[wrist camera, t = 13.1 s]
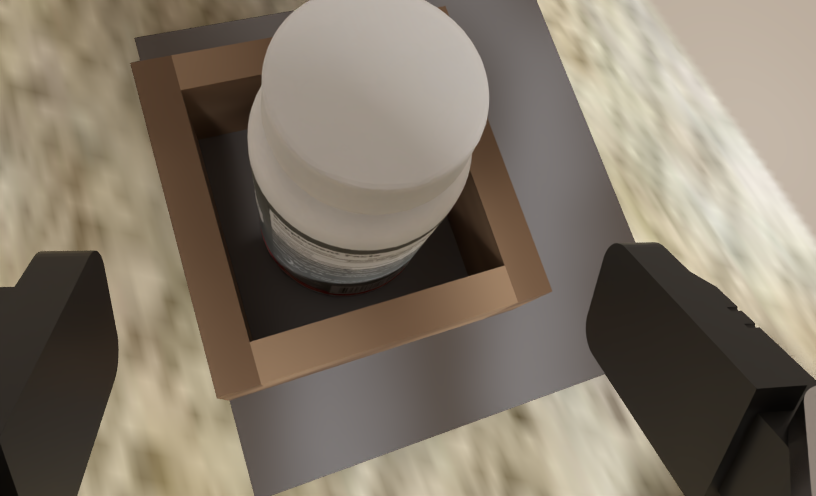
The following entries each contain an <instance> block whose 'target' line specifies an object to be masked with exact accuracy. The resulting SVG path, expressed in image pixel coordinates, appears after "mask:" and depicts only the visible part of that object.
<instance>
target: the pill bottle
mask: <svg viewBox="0 0 816 496" xmlns="http://www.w3.org/2000/svg"><path fill="white" fill-rule="evenodd" d="M488 110H489V87H488V80H487V75H486V72H485V68H484V65H483V62H482V60H481V57H480V55H479V54H478V52H477V50H476V48H475V46H474V45H473V43H472V41H471V40H470V38H469V37H468V36H467V35H466V33H465V32H464V30H463V29H462V28H461V27H460V26H459V25H458V24H457V23H456V22H455V21H454V20H452V19H451V18H450V17H449V16H448V15H447V14H445V13H444V12H443V11H441V10H440V9H439V8H437V7H435V6H433V5H432V4H430V3H429V2H427V1H425V0H309V1H308V2H306V3H304V4H303V5H301V6H300V7H298V8H297V9H296V10H294V11H293V12H292V13H291V14H290V15H289V16H288V17H287V18H286V19H285V20H284V22H283V23H282V24H281V25H280V26H279V28H278V29H277V31H276V32H275V34H274V36H273V38H272V40H271V42H270V44H269V46H268V49H267V52H266V55H265V58H264V62H263V67H262V85H261V87H260V89H259V91H258V93H257V95H256V97H255V100H254V103H253V105H252V108H251V112H250V116H249V122H248V136H247V138H248V155H249V161H250V166H251V171H252V177H253V183H254V188H255V196H256V202H257V206H258V213H259V220H260V227H261V232H262V235H263V239H264V242H265V244H266V247H267V249H268V251H269V253H270V255H271V256H272V258H273V259H274V261H275V262H276V263H277V265H278V266H279V267H280V268H281V269H282V270H283V271H284V272H285V273H286V274H287V275H288V276H289V277H291V278H292V279H293V280H294V281H296V282H297V283H299V284H300V285H302V286H304V287H306V288H308V289H310V290H313V291H315V292H318V293H322V294H326V295H331V296H354V295H360V294H364V293H367V292H371V291H373V290H376V289H378V288H380V287H382V286H384V285H385V284H387V283H388V282H390V281H391V280H392V279H394V278H395V277H396V276H397V275H399V273H401V272H402V271H403V269H404V268H405V267H406V266H407V264H408V263H409V262H410V260H411V259H412V257H413V256H414V254H415V253H416V252H417V251H418V250H419V248H420V247H421V246H422V245H423V243H424V242H425V241H426V240H427V238H428V237H429V236H430V235H431V234H432V233H433V231H434V230H435V229H436V228H437V227H438V225H439V224H440V223H441V222H442V221H443V220H444V219H445V217H446V216H447V214H448V213H449V212H450V210H451V209H452V207H453V206H454V204H455V203H456V201H457V199H458V198H459V196H460V194H461V192H462V190H463V188H464V186H465V183H466V181H467V178H468V174H469V170H470V165H471V159H472V152H473V151H474V149H475V147H476V146H477V144H478V142H479V141H480V138H481V136H482V133H483V130H484V128H485V125H486V121H487V116H488Z"/></svg>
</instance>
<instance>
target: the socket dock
mask: <svg viewBox="0 0 816 496" xmlns="http://www.w3.org/2000/svg"><path fill="white" fill-rule="evenodd" d="M425 1H427V2H429V3H430V4H432V5H433V6H435V7H437V8H439V9H440V10H441V11H443V12H444V13H445V14H447V15H448V16H449V17H450V18H451V19H452V20H454V21H455V22H456V23H457V24H458V25H459V26H460V27H461V28H462V29H463V30H464V32H465V33H466V35H467V36H468V37H469V38H470V40H471V41H472V43H473V45H474V46H475V48H476V50H477V52H478V54H479V55H480V57H481V60H482V62H483V65H484V68H485V72H486V75H487V80H488V87H489V110H488V116H487V121H486V125H485V128H484V130H483V133H482V136H481V138H480V141H479V142H478V144H477V146H476V147H475V149H474V151H473V152H472V159H471V165H470V170H469V174H468V178H467V181H466V183H465V186H464V188H463V190H462V192H461V194H460V196H459V198H458V199H457V201H456V203H455V204H454V206H453V207H452V209H451V210H450V212H449V213H448V214H447V216H446V217H445V219H444V220H443V221H442V222H441V223H440V224H439V225H438V227H437V228H436V229H435V230H434V231H433V233H432V234H431V235H430V236H429V237H428V238H427V240H426V241H425V242H424V243H423V245H422V246H421V247H420V248H419V250H418V251H417V252H416V253H415V254H414V256H413V257H412V259H411V260H410V262H409V263H408V264H407V266H406V267H405V268H404V269H403V271H402V272H401V273H399V275H397V276H396V277H395V278H394V279H392V280H391V281H390V282H388V283H387V284H385V285H384V286H382V287H380V288H378V289H376V290H373V291H371V292H367V293H364V294H360V295H354V296H331V295H326V294H322V293H318V292H315V291H313V290H310V289H308V288H306V287H304V286H302V285H300V284H299V283H297V282H296V281H294V280H293V279H292V278H291V277H289V276H288V275H287V274H286V273H285V272H284V271H283V270H282V269H281V268H280V267H279V266H278V265H277V263H276V262H275V261H274V259H273V258H272V256H271V255H270V253H269V251H268V249H267V247H266V244H265V242H264V239H263V235H262V232H261V227H260V220H259V213H258V206H257V202H256V196H255V188H254V183H253V177H252V171H251V166H250V161H249V155H248V138H247V136H248V122H249V116H250V112H251V108H252V105H253V103H254V100H255V97H256V95H257V93H258V91H259V89H260V87H261V85H262V67H263V62H264V58H265V55H266V52H267V49H268V46H269V44H270V42H271V40H272V38H273V36H274V34H275V32H276V31H277V29H278V28H279V26H280V25H281V24H282V23H283V22H284V20H285V19H286V18H287V17H288V16H289V15H290V14H291V13H292V12H293V11H289V12H283V13H277V14H271V15H265V16H260V17H254V18H248V19H242V20H236V21H230V22H225V23H219V24H213V25H207V26H201V27H195V28H190V29H184V30H178V31H172V32H166V33H160V34H155V35H149V36H143V37H137V38H135V42H136V46H137V49H138V53H139V57H140V61H137V62H132V63H130V64H131V68H132V72H133V75H134V79H135V83H136V87H137V91H138V95H139V99H140V102H141V106H142V110H143V114H144V118H145V122H146V126H147V130H148V133H149V137H150V141H151V145H152V149H153V153H154V157H155V160H156V164H157V168H158V172H159V176H160V180H161V184H162V188H163V191H164V195H165V199H166V203H167V207H168V211H169V215H170V218H171V222H172V226H173V230H174V234H175V238H176V242H177V246H178V249H179V253H180V257H181V261H182V265H183V269H184V273H185V276H186V280H187V284H188V288H189V292H190V296H191V300H192V304H193V307H194V311H195V315H196V319H197V323H198V327H199V331H200V334H201V338H202V342H203V346H204V350H205V354H206V358H207V362H208V365H209V369H210V373H211V377H212V381H213V385H214V389H215V393H216V396H217V398H219V399H224V400H230V404H231V408H232V412H233V415H234V419H235V423H236V427H237V431H238V435H239V438H240V442H241V446H242V450H243V454H244V457H245V461H246V465H247V469H248V473H249V476H250V480H251V484H252V488H253V492H254V496H271V495H274V494H277V493H280V492H282V491H285V490H288V489H291V488H293V487H296V486H299V485H302V484H304V483H307V482H310V481H313V480H315V479H318V478H321V477H324V476H326V475H329V474H332V473H335V472H337V471H340V470H343V469H346V468H348V467H351V466H354V465H357V464H359V463H362V462H365V461H368V460H370V459H373V458H376V457H379V456H381V455H384V454H387V453H389V452H392V451H395V450H398V449H400V448H403V447H406V446H409V445H411V444H414V443H417V442H420V441H422V440H425V439H428V438H431V437H433V436H436V435H439V434H442V433H444V432H447V431H450V430H453V429H455V428H458V427H461V426H464V425H466V424H469V423H472V422H475V421H477V420H480V419H483V418H486V417H488V416H491V415H494V414H497V413H499V412H502V411H505V410H508V409H510V408H513V407H516V406H519V405H521V404H524V403H527V402H530V401H532V400H535V399H538V398H540V397H543V396H546V395H549V394H551V393H554V392H557V391H560V390H562V389H565V388H568V387H571V386H573V385H576V384H579V383H582V382H584V381H587V380H590V379H593V378H595V377H598V376H601V375H604V374H605V373H604V372H603V370H602V369H601V367H600V365H599V364H598V362H597V361H596V359H595V358H594V356H593V355H592V353H591V351H590V349H589V346H588V343H587V338H586V318H587V314H588V311H589V307H590V304H591V300H592V297H593V293H594V290H595V286H596V283H597V279H598V275H599V272H600V268H601V265H602V261H603V258H604V255H605V253H606V251H607V249H608V248H609V247H610V246H611V245H612V244H614V243H635V241H634V238H633V236H632V233H631V231H630V228H629V226H628V223H627V221H626V219H625V216H624V214H623V211H622V209H621V206H620V204H619V201H618V199H617V196H616V194H615V192H614V189H613V187H612V184H611V182H610V179H609V177H608V174H607V172H606V170H605V167H604V165H603V162H602V160H601V157H600V155H599V152H598V150H597V147H596V145H595V143H594V140H593V138H592V135H591V133H590V130H589V128H588V125H587V123H586V121H585V118H584V116H583V113H582V111H581V108H580V106H579V103H578V101H577V98H576V96H575V94H574V91H573V89H572V86H571V84H570V81H569V79H568V76H567V74H566V71H565V69H564V67H563V64H562V62H561V59H560V57H559V54H558V52H557V49H556V47H555V45H554V42H553V40H552V37H551V35H550V32H549V30H548V27H547V25H546V22H545V20H544V18H543V15H542V13H541V10H540V8H539V5H538V3H537V0H425Z"/></svg>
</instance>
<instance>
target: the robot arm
mask: <svg viewBox="0 0 816 496" xmlns="http://www.w3.org/2000/svg"><path fill="white" fill-rule="evenodd" d="M586 338H587V343H588V346H589V349H590V351H591V353H592V355H593V356H594V358H595V359H596V361H597V362H598V364H599V365H600V367H601V369H602V370H603V372H604V373H605V375H606V376H607V378H608V379H609V381H610V382H611V384H612V385H613V387H614V388H615V390H616V391H617V393H618V395H619V396H620V398H621V399H622V401H623V402H624V404H625V405H626V407H627V408H628V410H629V411H630V413H631V414H632V416H633V417H634V419H635V420H636V422H637V424H638V425H639V427H640V428H641V430H642V431H643V433H644V434H645V436H646V437H647V439H648V440H649V442H650V443H651V445H652V446H653V448H654V449H655V451H656V453H657V454H658V456H659V457H660V459H661V460H662V462H663V463H664V465H665V466H666V468H667V469H668V471H669V472H670V474H671V475H672V477H673V479H674V480H675V482H676V483H677V485H678V486H679V488H680V489H681V491H682V492H683V494H684V495H685V496H816V380H815V379H814V378H813V377H812V376H811V375H809V374H808V373H807V372H806V371H805V370H804V369H803V368H802V367H801V366H800V365H799V364H798V363H797V362H796V361H795V360H794V359H792V358H791V357H790V356H789V355H788V354H787V353H786V352H785V351H784V350H783V349H782V348H781V347H780V346H779V345H778V344H777V343H775V342H774V341H773V340H772V339H771V338H770V337H769V336H768V335H767V334H766V333H765V332H764V331H763V330H762V329H761V328H755V323H754V322H753V321H752V320H751V319H750V318H749V317H748V316H747V315H746V314H745V313H744V312H742V311H738V310H737V306H736V305H735V304H734V303H733V302H732V301H731V300H730V299H729V298H728V297H727V296H725V295H724V294H723V293H722V292H721V291H720V290H719V289H718V288H717V287H716V286H714V285H712V284H710V283H709V282H707V281H705V280H703V279H702V278H700V277H698V276H697V275H695V274H693V273H691V272H690V271H689V270H688V269H687V268H686V267H684V266H683V265H682V264H681V263H680V262H679V261H678V260H677V259H676V258H675V257H674V256H673V255H672V254H671V253H670V252H669V251H668V250H667V249H666V248H665V247H664V246H662V245H661V244H659V243H655V242H650V243H614V244H612V245H611V246H610V247H609V248H608V249H607V251H606V253H605V255H604V258H603V261H602V265H601V268H600V272H599V275H598V279H597V283H596V286H595V290H594V293H593V297H592V300H591V304H590V307H589V311H588V314H587V318H586ZM117 366H118V337H117V331H116V325H115V320H114V315H113V310H112V304H111V299H110V294H109V289H108V283H107V278H106V273H105V268H104V263H103V260H102V257H101V255H100V254H99V252H98V251H42V252H38V253H37V254H36V255H35V256H34V258H33V259H32V261H31V262H30V264H29V265H28V267H27V268H26V270H25V272H24V273H23V275H22V276H21V278H20V279H19V281H18V283H17V284H16V286H15V287H0V496H77V494H78V491H79V488H80V485H81V482H82V479H83V476H84V473H85V470H86V467H87V463H88V460H89V457H90V454H91V451H92V448H93V445H94V442H95V439H96V436H97V433H98V430H99V427H100V423H101V420H102V417H103V414H104V411H105V408H106V405H107V402H108V399H109V396H110V393H111V390H112V387H113V383H114V380H115V377H116V372H117Z"/></svg>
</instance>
